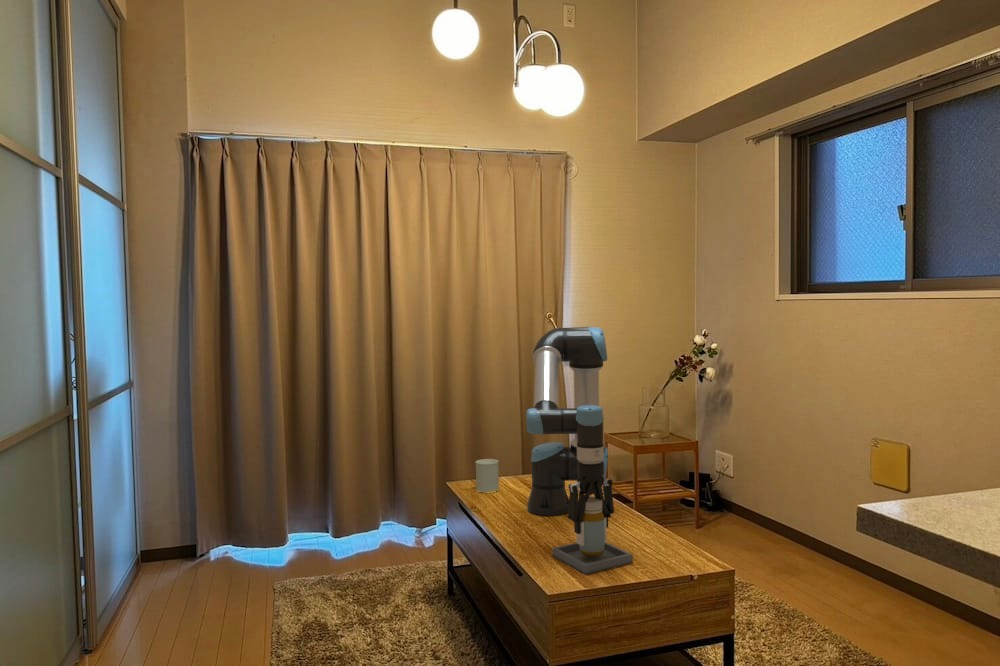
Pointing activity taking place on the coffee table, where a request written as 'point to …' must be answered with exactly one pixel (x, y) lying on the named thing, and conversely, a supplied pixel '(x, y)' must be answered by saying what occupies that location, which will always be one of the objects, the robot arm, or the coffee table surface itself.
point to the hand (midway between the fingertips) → (591, 541)
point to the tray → (592, 558)
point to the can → (487, 475)
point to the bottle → (593, 528)
